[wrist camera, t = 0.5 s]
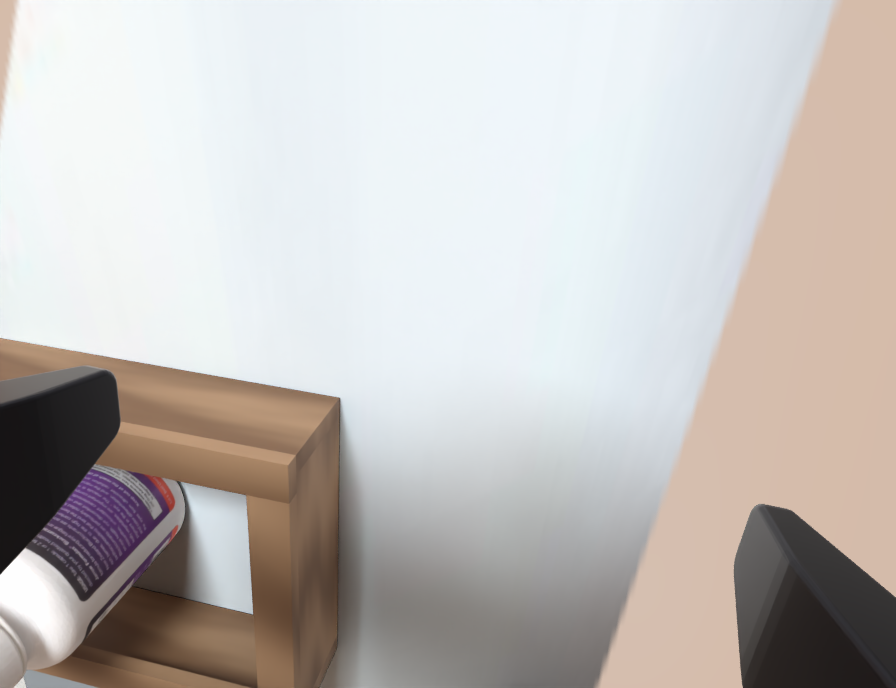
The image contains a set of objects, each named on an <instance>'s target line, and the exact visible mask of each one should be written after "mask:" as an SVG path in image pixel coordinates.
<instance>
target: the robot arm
mask: <svg viewBox="0 0 896 688" xmlns="http://www.w3.org/2000/svg"><path fill="white" fill-rule="evenodd" d="M120 423H121V415H120V406H119V396H118V387H117V380H116V377H115V375H114V374H113V373H112V372H111V371H110V370H107V369H102V368H98V367H93V366H86V365H84V366H77V367H72V368H67V369H61V370H56V371H51V372H45V373H40V374H35V375H29V376H24V377H19V378H13V379H8V380H3V381H0V575H1V574H2V573H3V571H4V570H5V569H6V568H7V567H8V566H9V565H10V564H11V563H12V562H13V561H14V560H15V559H16V557H17V556H18V555H19V554H20V553H21V552H22V551H23V550H24V549H25V548H26V547H27V546H28V545H29V544H30V542H31V541H32V540H33V539H34V538H35V537H36V536H37V535H38V534H39V533H40V532H41V531H42V530H43V528H44V527H45V526H46V525H47V524H48V523H49V522H50V521H51V519H52V518H53V517H54V516H55V515H56V514H57V512H58V511H59V510H60V509H61V507H62V506H63V505H64V504H65V502H66V501H67V500H68V499H69V497H70V496H71V495H72V493H73V492H74V491H75V489H76V488H77V487H78V485H79V484H80V483H81V482H82V480H83V479H84V478H85V476H86V475H87V474H88V472H89V471H90V470H91V468H92V467H93V466H94V465H95V463H96V462H97V461H98V459H99V458H100V457H101V455H102V454H103V453H104V451H105V450H106V449H107V448H108V446H109V445H110V444H111V442H112V441H113V440H114V438H115V437H116V435H117V433H118V431H119V428H120ZM734 582H735V597H736V611H737V624H738V638H739V653H740V666H741V676H742V685H743V688H896V597H894V596H893V595H892V594H891V593H890V592H889V591H887V590H886V589H885V588H884V587H883V586H881V585H880V584H879V583H878V582H876V581H875V580H874V579H873V578H872V577H871V576H869V575H868V574H867V573H866V572H865V571H863V570H862V569H861V568H860V567H859V566H857V565H856V564H855V563H854V562H853V561H851V560H850V559H849V558H848V557H847V556H845V555H844V554H843V553H842V552H840V551H839V550H838V549H837V548H836V547H835V546H833V545H832V544H831V543H830V542H829V541H827V540H826V539H825V538H824V537H823V536H821V535H820V534H819V533H818V532H817V531H815V530H814V529H813V528H812V527H811V526H809V525H808V524H807V523H806V522H805V521H803V520H802V519H801V518H800V517H799V516H798V515H796V514H795V513H794V512H793V511H791V510H788V509H784V508H780V507H775V506H770V505H765V504H758V505H756V506H755V507H754V508H753V509H752V511H751V513H750V516H749V518H748V521H747V524H746V527H745V530H744V533H743V536H742V539H741V542H740V544H739V547H738V550H737V553H736V557H735V562H734Z"/></svg>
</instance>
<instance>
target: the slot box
mask: <svg viewBox="0 0 896 688" xmlns="http://www.w3.org/2000/svg"><path fill="white" fill-rule="evenodd" d="M84 365H86V366H93V367H98V368H102V369H107V370H110V371H111V372H112V373H113V374H114V375H115V377H116V380H117V387H118V396H119V406H120V415H121V423H120V428H119V431H118V433H117V435H116V437H115V438H114V440H113V441H112V442H111V444H110V445H109V446H108V448H107V449H106V450H105V451H104V453H103V454H102V455H101V457H100V458H99V459H98V461H97V462H96V463H95V464H97V465H102V466H107V467H112V468H117V469H121V470H126V471H131V472H136V473H141V474H146V475H151V476H156V477H160V478H165V479H170V480H175V481H180V482H185V483H190V484H195V485H199V486H204V487H209V488H214V489H219V490H224V491H229V492H234V493H238V494H243V495H246V498H247V515H248V532H249V549H250V566H251V583H252V600H253V615H251V614H247V613H243V612H238V611H234V610H230V609H226V608H221V607H217V606H213V605H209V604H204V603H200V602H196V601H192V600H187V599H183V598H179V597H175V596H170V595H166V594H162V593H158V592H153V591H149V590H145V589H141V588H136V587H132V586H131V588H130V589H129V590H128V591H127V592H126V593H125V594H124V596H123V597H122V598H121V599H120V600H119V601H118V602H117V604H116V605H115V606H114V607H113V608H112V609H111V610H110V611H109V613H108V614H107V615H106V616H105V617H104V618H103V619H102V620H101V622H100V623H99V624H98V625H97V626H96V627H95V628H94V630H93V631H92V632H91V633H90V634H89V635H88V636H87V638H86V639H85V640H84V641H83V642H82V643H81V644H80V645H79V646H78V647H77V648H76V649H75V650H74V652H73V653H72V654H71V655H70V656H68V657H67V658H66V659H64V660H63V661H61V662H60V663H58V664H55V665H53V666H50V667H47V668H43V669H37V670H33V671H37V672H41V673H45V674H48V675H52V676H56V677H60V678H64V679H67V680H71V681H75V682H79V683H82V684H86V685H90V686H94V687H98V688H319V687H320V685H321V682H322V680H323V678H324V676H325V674H326V671H327V669H328V667H329V665H330V662H331V660H332V658H333V656H334V654H335V651H336V649H337V615H338V513H339V410H340V398H337V397H332V396H326V395H320V394H315V393H309V392H303V391H298V390H292V389H286V388H280V387H275V386H269V385H263V384H258V383H252V382H246V381H241V380H235V379H229V378H224V377H218V376H212V375H207V374H201V373H195V372H189V371H184V370H178V369H172V368H167V367H161V366H155V365H150V364H144V363H138V362H133V361H127V360H121V359H116V358H110V357H104V356H98V355H93V354H87V353H81V352H76V351H70V350H64V349H59V348H53V347H47V346H42V345H36V344H30V343H25V342H19V341H13V340H8V339H2V338H0V381H3V380H8V379H13V378H19V377H24V376H29V375H35V374H40V373H45V372H51V371H56V370H61V369H67V368H72V367H77V366H84Z"/></svg>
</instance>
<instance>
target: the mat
mask: <svg viewBox="0 0 896 688" xmlns="http://www.w3.org/2000/svg"><path fill="white" fill-rule="evenodd" d="M24 680H25V684H26V688H98V687H94V686H90V685H86V684H82V683H79V682H75V681H71V680H67V679H64V678H60V677H56V676H52V675H48V674H45V673H41V672H37V671H33V670H26V673H25V675H24Z"/></svg>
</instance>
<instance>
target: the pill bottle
mask: <svg viewBox="0 0 896 688" xmlns="http://www.w3.org/2000/svg"><path fill="white" fill-rule="evenodd" d="M184 516H185V503H184V497H183V494H182V491H181V489H180V487H179V485H178V483H177V481H175V480H170V479H165V478H160V477H156V476H151V475H146V474H141V473H136V472H131V471H126V470H121V469H117V468H112V467H107V466H102V465H97V464H95V465H94V466H93V467H92V468H91V470H90V471H89V472H88V474H87V475H86V476H85V478H84V479H83V480H82V482H81V483H80V484H79V485H78V487H77V488H76V489H75V491H74V492H73V493H72V495H71V496H70V497H69V499H68V500H67V501H66V502H65V504H64V505H63V506H62V507H61V509H60V510H59V511H58V512H57V514H56V515H55V516H54V517H53V518H52V519H51V521H50V522H49V523H48V524H47V525H46V526H45V527H44V528H43V530H42V531H41V532H40V533H39V534H38V535H37V536H36V537H35V538H34V539H33V540H32V541H31V542H30V544H29V545H28V546H27V547H26V548H25V549H24V550H23V551H22V552H21V553H20V554H19V555H18V556H17V557H16V559H15V560H14V561H13V562H12V563H11V564H10V565H9V566H8V567H7V568H6V569H5V570H4V571H3V573H2V574H1V575H0V688H13V687H14V686H15V685H16V684H17V683H18V682H19V681H20V679H22V677H23V676H24V675H25V673H26V670H37V669H43V668H47V667H50V666H53V665H55V664H58V663H60V662H61V661H63V660H64V659H66V658H67V657H68V656H70V655H71V654H72V653H73V652H74V650H75V649H76V648H77V647H78V646H79V645H80V644H81V643H82V642H83V641H84V640H85V639H86V638H87V636H88V635H89V634H90V633H91V632H92V631H93V630H94V628H95V627H96V626H97V625H98V624H99V623H100V622H101V620H102V619H103V618H104V617H105V616H106V615H107V614H108V613H109V611H110V610H111V609H112V608H113V607H114V606H115V605H116V604H117V602H118V601H119V600H120V599H121V598H122V597H123V596H124V594H125V593H126V592H127V591H128V590H129V589H130V588H131V586H132V585H133V584H134V583H135V582H136V581H137V580H138V578H139V577H140V576H141V575H142V574H143V573H144V571H145V570H146V569H147V568H148V567H149V566H150V565H151V564H152V562H153V561H154V560H155V559H156V558H157V557H158V556H159V555H160V553H161V552H162V551H163V550H164V549H165V547H166V546H167V545H168V544H169V543H170V542H171V541H172V539H173V538H174V537H175V535H176V534H177V533H178V531H179V530H180V528H181V526H182V524H183V520H184Z"/></svg>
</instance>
